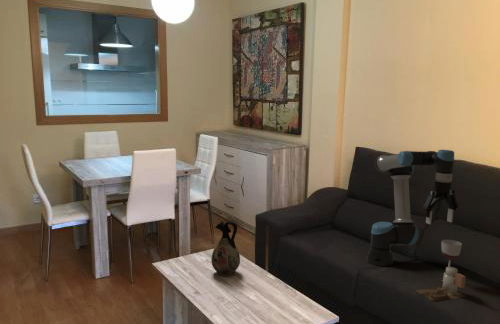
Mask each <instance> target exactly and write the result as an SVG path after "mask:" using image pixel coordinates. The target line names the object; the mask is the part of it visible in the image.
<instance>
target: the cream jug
mask: <svg viewBox="0 0 500 324" xmlns="http://www.w3.org/2000/svg"><path fill="white" fill-rule="evenodd" d="M458 270H459V269H458V268H456V267H453V266H450V267H448V266H446V267H445V271H444V272H443V276H442V277H443V278H442V279H443V280H442V286H443V287H442V290H444V291H446V292H447V294H449V295H456V294H457V292H458V288H459V289H460V288H461V289H463V288H465V286H466V276H465V275H463V274H461V273H460V272H459V273H458Z"/></svg>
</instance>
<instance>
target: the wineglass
mask: <svg viewBox="0 0 500 324" xmlns="http://www.w3.org/2000/svg"><path fill="white" fill-rule="evenodd" d="M440 245H441V248H440V249H441V254H442V256H443V257H444V258H445V259H447V260H448V266H447V267H451V262H452V260H456V259H457V258H459V257H460V253H461V250H462V245H463V243H462V242H460V241H457V240H453V239H442V240H441V244H440Z"/></svg>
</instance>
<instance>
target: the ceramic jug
mask: <svg viewBox="0 0 500 324" xmlns="http://www.w3.org/2000/svg"><path fill="white" fill-rule="evenodd" d="M230 225H231V226H232V228H233V230H231V228H230V227H229V226H230ZM214 229H217V230H219V231H220V232H222V236H221V238H220V239H219V240H218V241H217V243H216V245H214V248H213V251H212V254H211V261H210V262H211V266H212V268H213V269H214V270H215V271H216V274H217V275H218V276H219V277H226V278H227V277H231V276H234V275H235V274H236V273H235V272H236V271H237V269H238V268H239V267H240V264H241V255H240V252H239V249H238V247H237V246H236V242H235V237H236V235H237V232H238V225H237V223H236V222H235V221H233V220H226V222H224V221H221V222H220V223H217V225H216V226H215V227H214ZM230 233H232V235H231V236H230Z"/></svg>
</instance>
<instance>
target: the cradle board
mask: <svg viewBox="0 0 500 324" xmlns="http://www.w3.org/2000/svg"><path fill="white" fill-rule="evenodd" d="M442 287H443V285H440V286H433V287H426V288H417V289H414V291H415V292H417V293H418V294H420V295H421V296H423V297H424V298H427V299H428V300H430V301H431V302H433V303H436V302H442V301H448V300H453V299H458V298H459V299H460V298H465V297H467V296H466V295H465V294H462V293H460V292H459V291H457V294H456V295H449V294H447V292H446V291H444V290H442Z"/></svg>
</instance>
